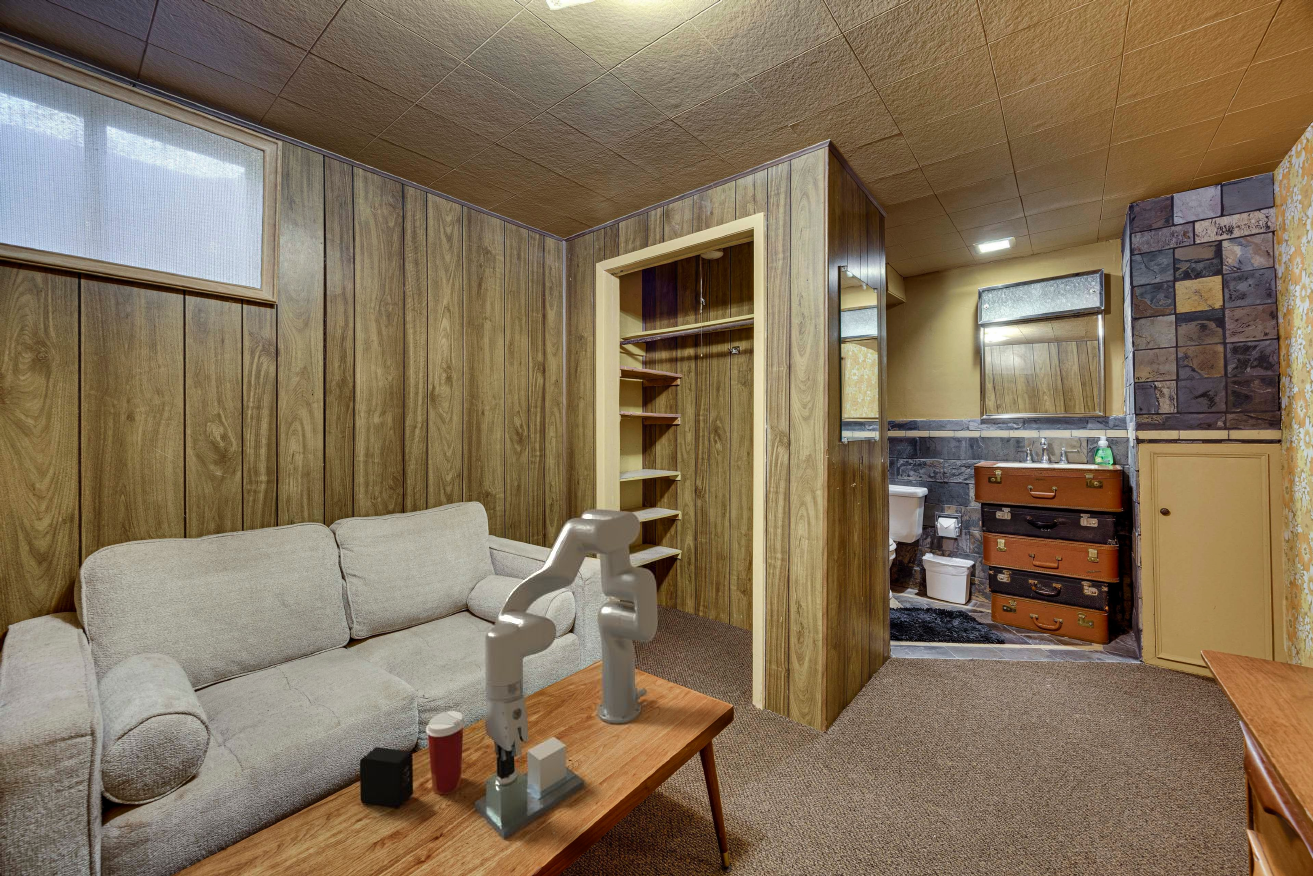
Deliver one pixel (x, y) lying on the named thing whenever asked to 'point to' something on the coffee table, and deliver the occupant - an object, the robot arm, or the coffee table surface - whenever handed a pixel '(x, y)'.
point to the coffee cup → (445, 750)
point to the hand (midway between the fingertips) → (505, 774)
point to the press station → (522, 801)
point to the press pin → (506, 779)
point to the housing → (546, 763)
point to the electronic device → (386, 777)
